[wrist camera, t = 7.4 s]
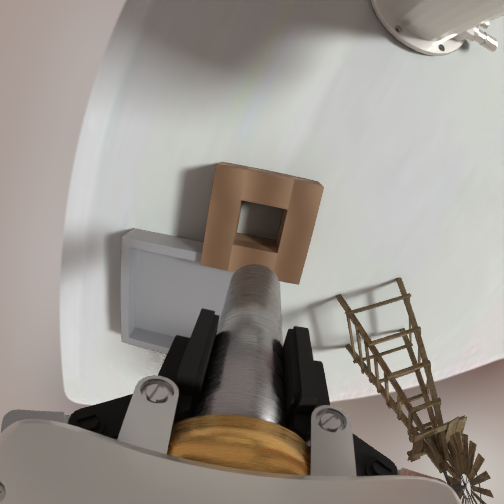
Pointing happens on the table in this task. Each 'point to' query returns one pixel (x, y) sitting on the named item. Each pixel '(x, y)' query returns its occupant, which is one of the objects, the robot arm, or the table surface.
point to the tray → (165, 288)
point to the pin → (244, 387)
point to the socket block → (251, 247)
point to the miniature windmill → (435, 436)
